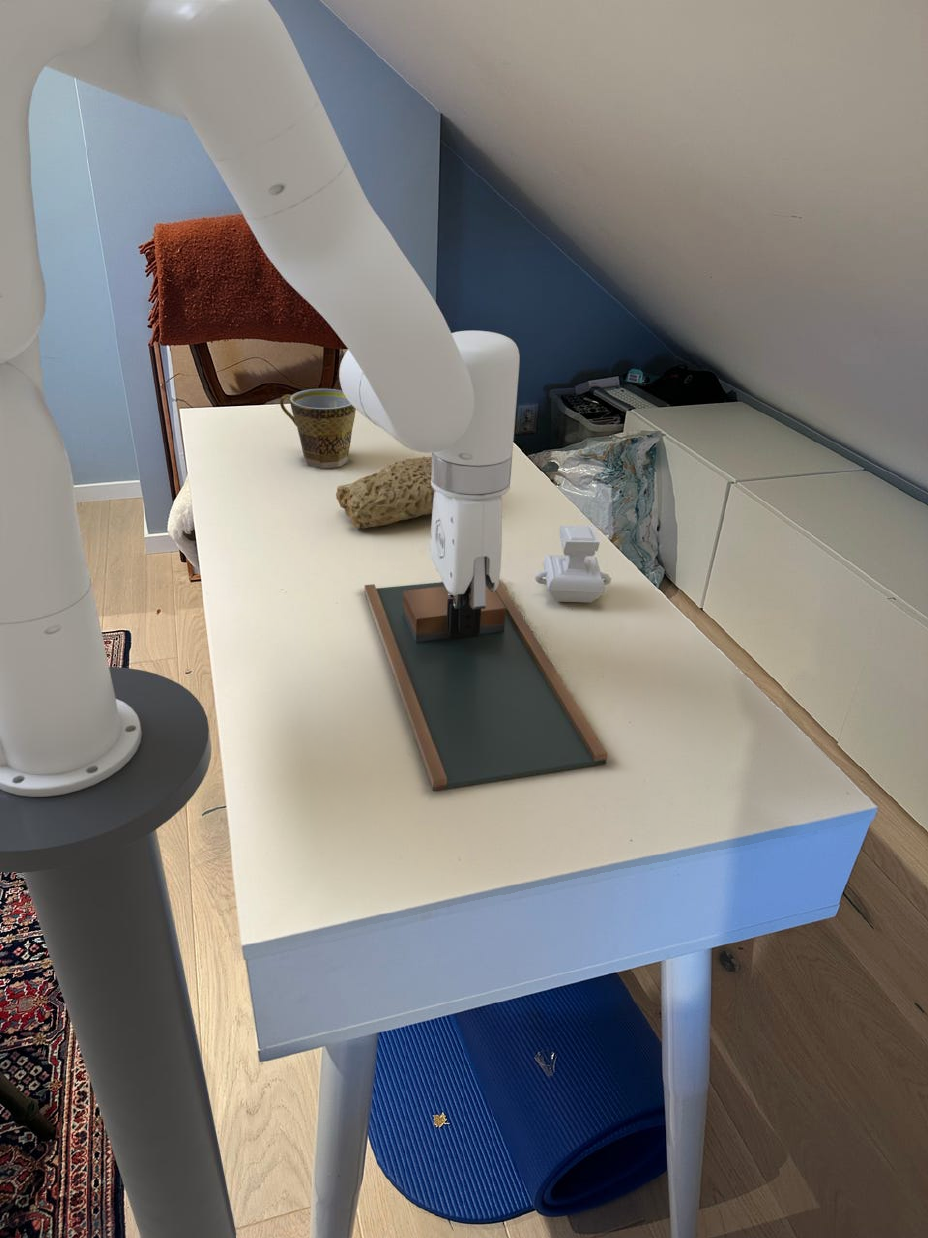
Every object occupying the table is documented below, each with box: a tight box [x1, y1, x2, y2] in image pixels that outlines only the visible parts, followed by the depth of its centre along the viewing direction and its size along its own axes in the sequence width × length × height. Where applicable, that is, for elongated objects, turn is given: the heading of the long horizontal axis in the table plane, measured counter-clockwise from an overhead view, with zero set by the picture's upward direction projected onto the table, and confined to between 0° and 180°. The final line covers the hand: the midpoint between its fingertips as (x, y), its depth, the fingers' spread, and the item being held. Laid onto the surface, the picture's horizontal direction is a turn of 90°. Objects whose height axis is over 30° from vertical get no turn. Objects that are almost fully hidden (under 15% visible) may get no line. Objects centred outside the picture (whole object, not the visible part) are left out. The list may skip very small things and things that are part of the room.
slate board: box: [364, 579, 608, 792], centre depth 89 cm, size 16×34×1 cm, turn 15°
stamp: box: [534, 525, 612, 603], centre depth 101 cm, size 9×7×8 cm
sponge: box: [335, 456, 435, 529], centre depth 120 cm, size 13×8×20 cm
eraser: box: [403, 586, 506, 642], centre depth 95 cm, size 10×6×3 cm, turn 107°
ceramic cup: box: [279, 388, 357, 470], centre depth 133 cm, size 13×10×10 cm
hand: (462, 633), depth 91 cm, fingers closed
